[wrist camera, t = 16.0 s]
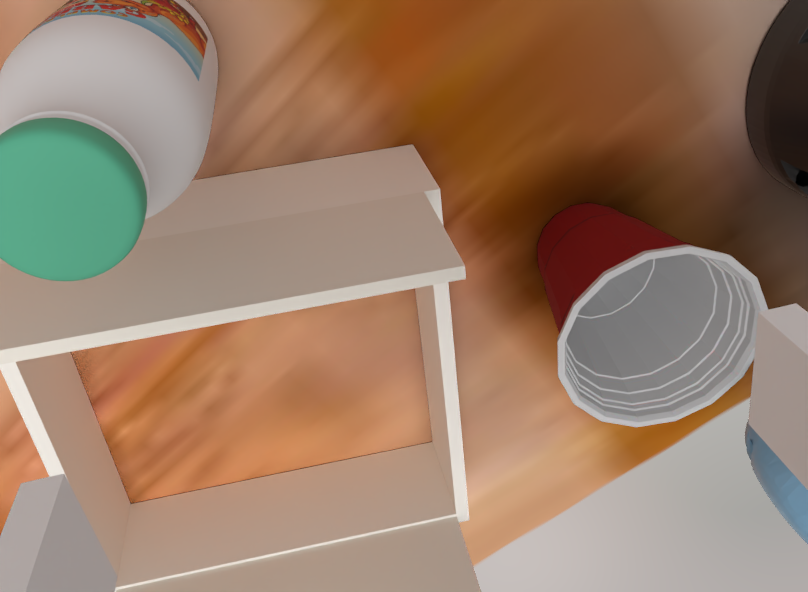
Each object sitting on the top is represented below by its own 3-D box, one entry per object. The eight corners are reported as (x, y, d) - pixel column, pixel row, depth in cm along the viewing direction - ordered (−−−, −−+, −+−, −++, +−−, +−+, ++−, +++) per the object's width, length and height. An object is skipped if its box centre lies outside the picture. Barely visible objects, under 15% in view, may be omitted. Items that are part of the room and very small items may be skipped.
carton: (412, 144, 43) (484, 262, 30) (444, 448, 54) (506, 628, 41) (-2, 212, 41) (-116, 371, 28) (122, 514, 52) (81, 727, 39)
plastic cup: (473, 201, 45) (540, 299, 35) (643, 136, 45) (761, 215, 35) (515, 341, 51) (584, 461, 41) (667, 284, 51) (774, 390, 41)
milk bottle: (250, 74, 40) (255, 231, 22) (137, 162, 41) (59, 376, 24) (142, -60, 36) (48, 7, 19) (21, 41, 37) (-173, 192, 20)
